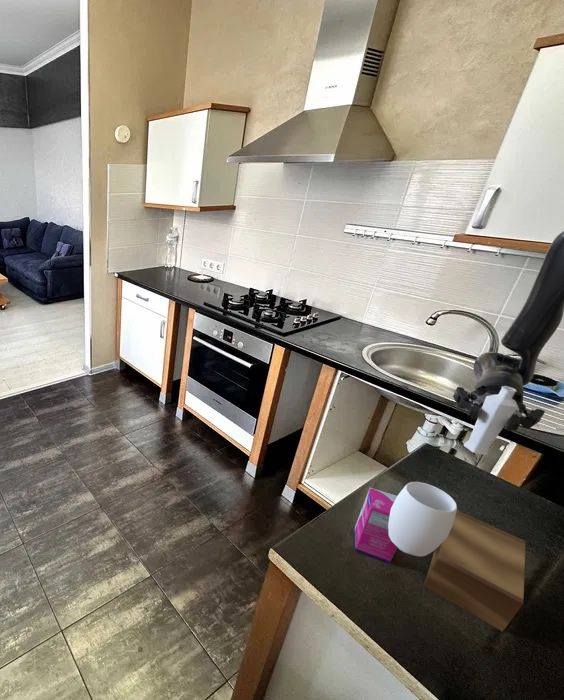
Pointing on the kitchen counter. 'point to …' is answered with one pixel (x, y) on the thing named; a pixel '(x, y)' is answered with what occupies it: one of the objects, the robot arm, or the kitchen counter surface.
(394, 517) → the cup
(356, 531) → the supplement box
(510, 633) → the kitchen counter surface
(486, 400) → the perfume bottle
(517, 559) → the wood grain block
